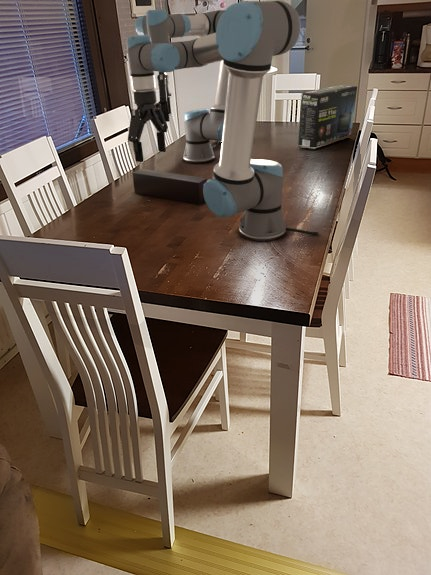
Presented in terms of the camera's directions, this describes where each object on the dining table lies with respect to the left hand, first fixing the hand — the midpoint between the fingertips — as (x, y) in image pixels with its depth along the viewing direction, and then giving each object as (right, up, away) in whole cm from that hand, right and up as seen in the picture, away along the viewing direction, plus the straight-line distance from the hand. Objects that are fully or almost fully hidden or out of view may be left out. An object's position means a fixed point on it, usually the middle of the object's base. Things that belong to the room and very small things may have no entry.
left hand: (167, 117), depth 181 cm
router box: (+78, +10, +63) cm, 101 cm away
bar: (+1, -31, +1) cm, 31 cm away
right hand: (-3, -22, -23) cm, 32 cm away
